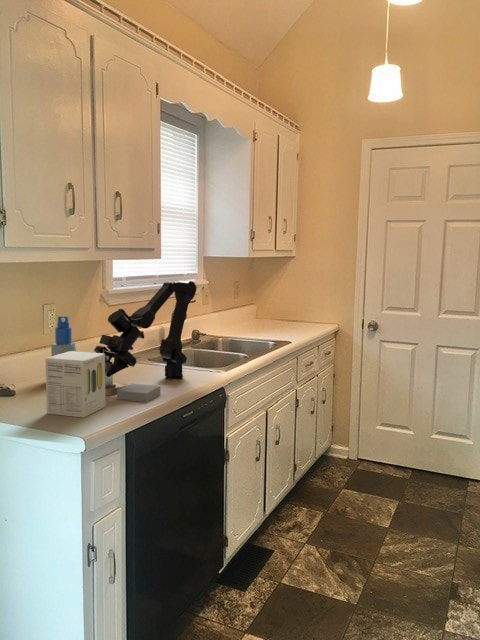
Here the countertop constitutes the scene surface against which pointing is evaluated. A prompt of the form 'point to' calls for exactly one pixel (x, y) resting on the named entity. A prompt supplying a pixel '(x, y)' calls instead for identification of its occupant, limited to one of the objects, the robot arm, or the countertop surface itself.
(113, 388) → the tan wooden board
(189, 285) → the robot arm
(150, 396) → the block
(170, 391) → the countertop surface
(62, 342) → the spray bottle
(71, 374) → the supplement box
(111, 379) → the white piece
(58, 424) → the countertop surface
